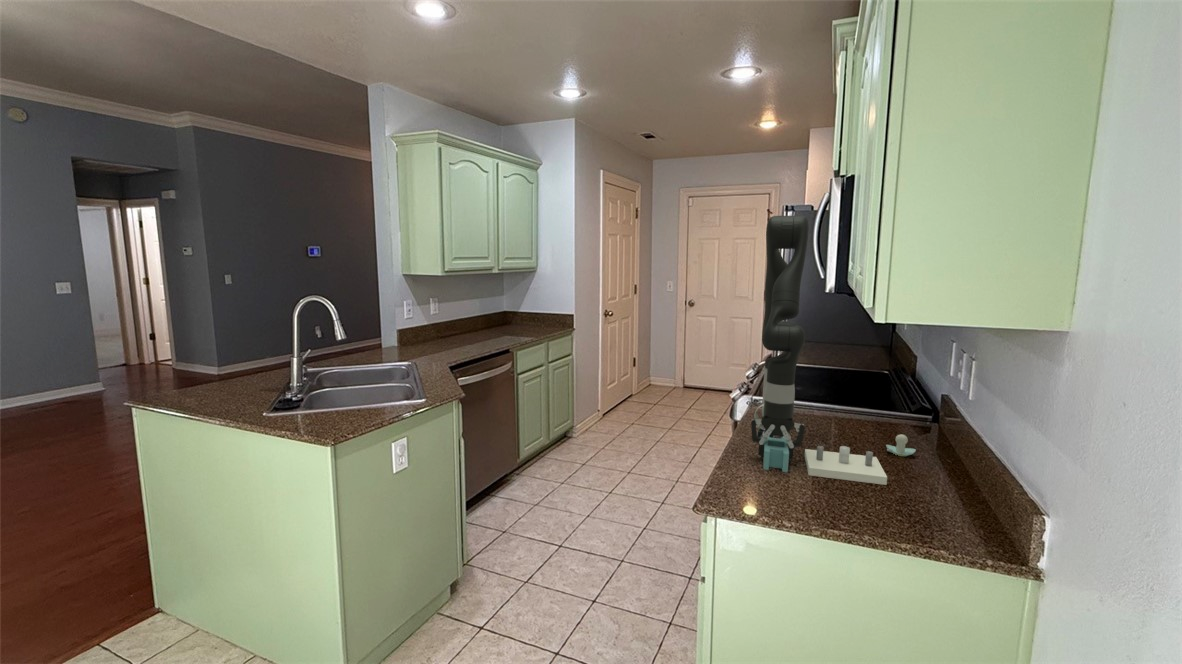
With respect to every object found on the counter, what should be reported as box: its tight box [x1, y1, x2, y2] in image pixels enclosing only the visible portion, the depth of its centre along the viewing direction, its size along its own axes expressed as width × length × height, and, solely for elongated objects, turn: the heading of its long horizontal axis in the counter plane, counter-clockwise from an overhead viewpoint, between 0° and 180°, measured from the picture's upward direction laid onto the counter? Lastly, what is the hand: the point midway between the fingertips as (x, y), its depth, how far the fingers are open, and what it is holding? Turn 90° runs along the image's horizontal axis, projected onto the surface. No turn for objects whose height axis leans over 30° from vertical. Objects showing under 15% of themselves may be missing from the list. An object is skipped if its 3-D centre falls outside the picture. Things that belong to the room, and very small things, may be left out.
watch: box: [753, 404, 777, 438], centre depth 166 cm, size 6×8×11 cm
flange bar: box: [762, 436, 790, 473], centre depth 150 cm, size 14×6×5 cm, turn 163°
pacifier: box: [885, 433, 916, 457], centre depth 157 cm, size 7×6×6 cm
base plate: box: [804, 445, 888, 486], centre depth 145 cm, size 14×18×6 cm
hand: (775, 458), depth 150 cm, fingers open, 6 cm apart
